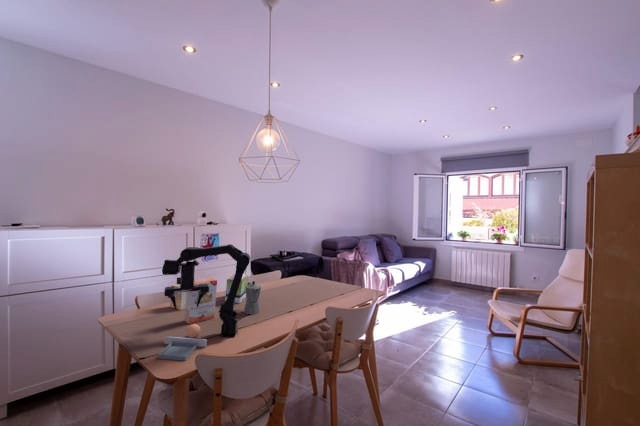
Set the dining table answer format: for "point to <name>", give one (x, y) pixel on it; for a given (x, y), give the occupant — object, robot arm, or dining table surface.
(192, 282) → the robot arm
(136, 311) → the dining table surface
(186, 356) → the grey square tray
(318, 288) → the dining table surface
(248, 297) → the coffeepot
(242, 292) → the tea box
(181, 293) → the supplement box
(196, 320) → the cracker box
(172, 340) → the wall
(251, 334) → the dining table surface
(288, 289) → the dining table surface
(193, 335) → the ball
